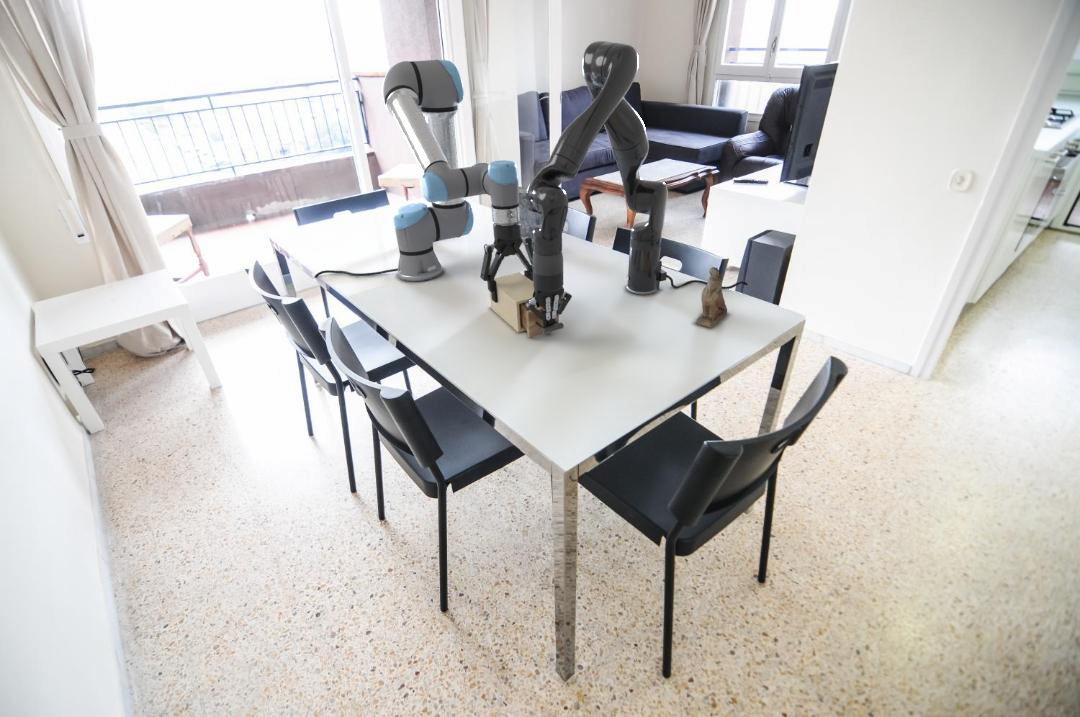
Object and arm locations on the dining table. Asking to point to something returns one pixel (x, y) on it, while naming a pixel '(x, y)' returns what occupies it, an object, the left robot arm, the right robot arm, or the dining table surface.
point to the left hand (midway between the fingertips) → (511, 296)
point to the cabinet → (512, 297)
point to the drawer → (536, 321)
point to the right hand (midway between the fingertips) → (549, 330)
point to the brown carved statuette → (712, 301)
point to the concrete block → (527, 216)
